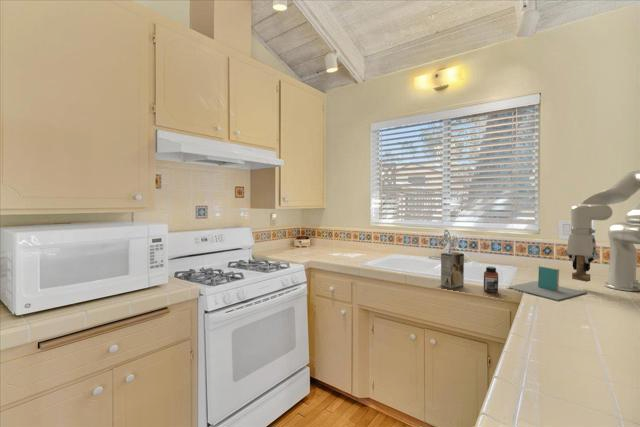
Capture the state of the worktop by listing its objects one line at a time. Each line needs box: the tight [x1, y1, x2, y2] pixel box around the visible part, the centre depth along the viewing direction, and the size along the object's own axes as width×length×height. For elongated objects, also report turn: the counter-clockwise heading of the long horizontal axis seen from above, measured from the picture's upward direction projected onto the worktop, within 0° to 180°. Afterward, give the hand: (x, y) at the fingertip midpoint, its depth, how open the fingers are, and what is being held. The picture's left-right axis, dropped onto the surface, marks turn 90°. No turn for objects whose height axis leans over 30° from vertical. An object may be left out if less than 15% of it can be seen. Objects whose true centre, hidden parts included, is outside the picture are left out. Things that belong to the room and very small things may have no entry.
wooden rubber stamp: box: [571, 255, 591, 282], centre depth 152 cm, size 6×4×13 cm, turn 27°
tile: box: [537, 265, 560, 291], centre depth 151 cm, size 8×2×10 cm, turn 27°
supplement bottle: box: [483, 266, 499, 294], centre depth 149 cm, size 6×6×11 cm
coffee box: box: [440, 251, 465, 289], centre depth 159 cm, size 9×6×16 cm
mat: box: [507, 280, 588, 302], centre depth 150 cm, size 22×24×1 cm
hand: (581, 269), depth 152 cm, fingers closed on wooden rubber stamp, 3 cm apart
